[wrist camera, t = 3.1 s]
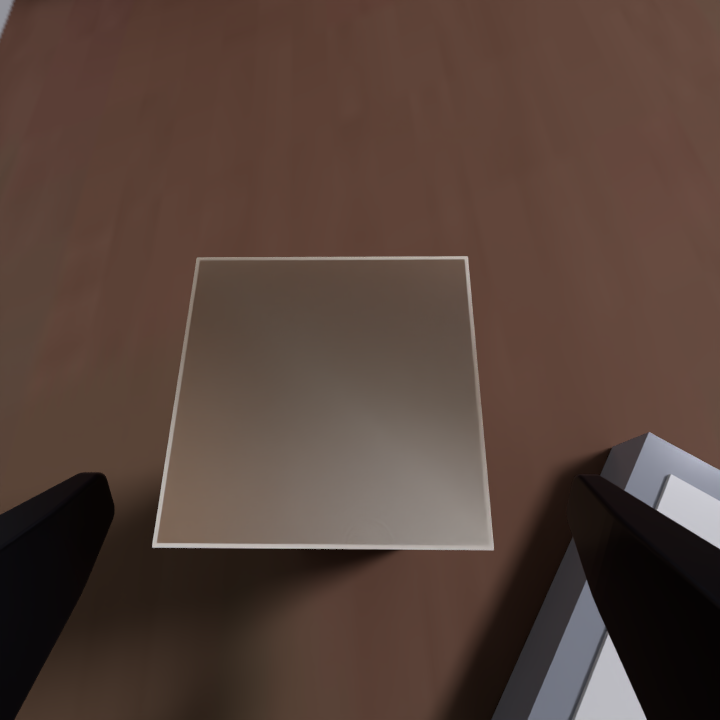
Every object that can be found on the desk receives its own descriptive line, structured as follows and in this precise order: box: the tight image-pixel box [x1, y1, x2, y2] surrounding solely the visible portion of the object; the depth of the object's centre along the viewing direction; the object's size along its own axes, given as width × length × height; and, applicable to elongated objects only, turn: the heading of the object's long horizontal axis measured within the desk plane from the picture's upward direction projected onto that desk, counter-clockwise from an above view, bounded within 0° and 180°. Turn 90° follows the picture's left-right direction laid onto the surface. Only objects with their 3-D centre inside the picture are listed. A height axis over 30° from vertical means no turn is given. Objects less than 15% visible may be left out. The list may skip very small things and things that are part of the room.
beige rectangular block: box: [152, 256, 494, 550], centre depth 12 cm, size 4×4×12 cm
